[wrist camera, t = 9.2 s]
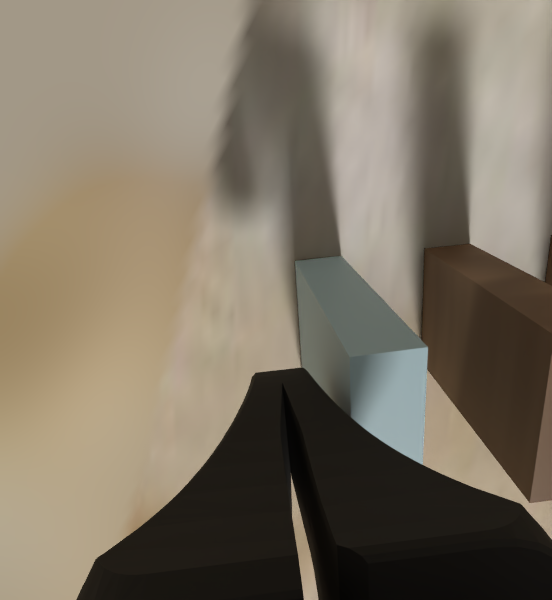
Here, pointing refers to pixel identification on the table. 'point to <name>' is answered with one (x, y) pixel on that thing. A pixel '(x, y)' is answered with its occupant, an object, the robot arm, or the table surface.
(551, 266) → the domino
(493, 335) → the domino
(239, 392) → the table surface
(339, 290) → the teal domino
